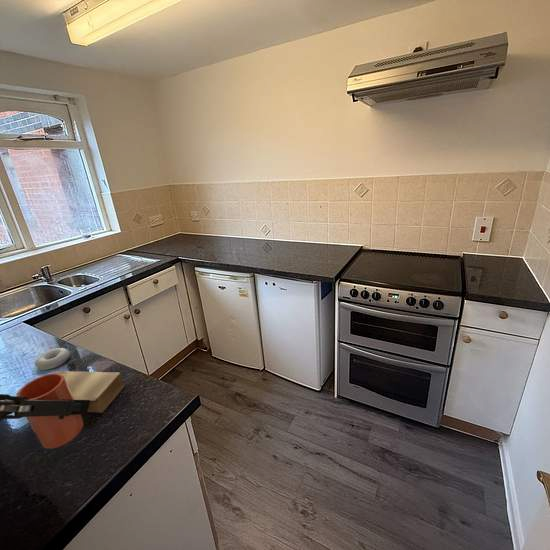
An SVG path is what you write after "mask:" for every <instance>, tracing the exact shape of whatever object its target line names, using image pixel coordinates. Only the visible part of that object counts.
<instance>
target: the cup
mask: <svg viewBox="0 0 550 550" xmlns="http://www.w3.org/2000/svg"><path fill="white" fill-rule="evenodd" d="M16 396H24V397H28V399H29V400H62V399H67V400H74V398H73V396H72V394H71V391H70V389H69V387H68V385H67V382H66V380H65V378H64V376H63V375H62V374H60V373H54V372H53V373H47V374H44V375H40V376H39V377H36V378H34V379H33V380H31V381H28V382H27V383H26V384H25V385H23V386H22V387H20V389H19V390H18V391H17V393H16ZM17 401H18V403H19V400H17ZM25 418H26V420H27V421H28V424H29V425H30V427H31V429H32V431H33V433H34V435H35V437H36V439H37V441H38V443H39V444H40V445H41V447H42V448H44V449H46V450H53V449H56V448H60V447H62V446H64V445H66V444H68V443H69V442H71V441H72V440H73V439H75V438H76V437H77V436H78V435H79V434H80V432H81V431H82V429H83V427H84V419H83V416H82V414H77V415H70V416H64V419H58V418H59V416H34V417H25Z"/></svg>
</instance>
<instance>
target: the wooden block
mask: <svg viewBox="0 0 550 550" xmlns="http://www.w3.org/2000/svg"><path fill="white" fill-rule="evenodd" d="M53 373H60V374H62V375H63V376H64V378H65V380H66V382H67V385H68V387H69V389H70V391H71V394H72V396H73V398H74V400H90V404H89V408H88V411H87V413H100V414H101V413H104V412H105V411H106V409H108V407H109V406H110V405H111V403H113V401H114V400H115V399H116V397H117V396H119V394H120V393H121V392H122V390H123V389H124V388H125V387H126V385H125V382H124V379H123V376H122V374H121V372H110V371H109V372H108V371H71V370H70V371H67V370H65V371H64V370H63V371H62V370H55V371H54V372H53Z"/></svg>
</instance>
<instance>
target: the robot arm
mask: <svg viewBox="0 0 550 550" xmlns="http://www.w3.org/2000/svg"><path fill="white" fill-rule="evenodd" d="M17 400H19V403H18V401H17ZM89 404H90V400H67V399H62V400H29V399H28V397H24V396H17V395H10V394H9V393H8V394H7V393H0V421H2V420H19V419H22V418H26V417H34V416H59V418H58V419H64V416H70V415H77V414H81V415H87V414H88V412H87V411H88V408H89Z"/></svg>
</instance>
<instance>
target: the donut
mask: <svg viewBox="0 0 550 550" xmlns="http://www.w3.org/2000/svg"><path fill="white" fill-rule="evenodd" d="M70 357H71V353H70V351H69V350H68V349H67V348H64V347H58V348H52V349H50V350H48V351H45V352H44V353H42V354H40V355H39V356H38V357H37V358H36V359H35V360H34V361H35V362H34V366H35V369H38V370H41V371H49V370H53V369H56V368H57V367H59V366H61V365H63V364H64V363H66V362H67V361H68V360H69V358H70Z"/></svg>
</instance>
